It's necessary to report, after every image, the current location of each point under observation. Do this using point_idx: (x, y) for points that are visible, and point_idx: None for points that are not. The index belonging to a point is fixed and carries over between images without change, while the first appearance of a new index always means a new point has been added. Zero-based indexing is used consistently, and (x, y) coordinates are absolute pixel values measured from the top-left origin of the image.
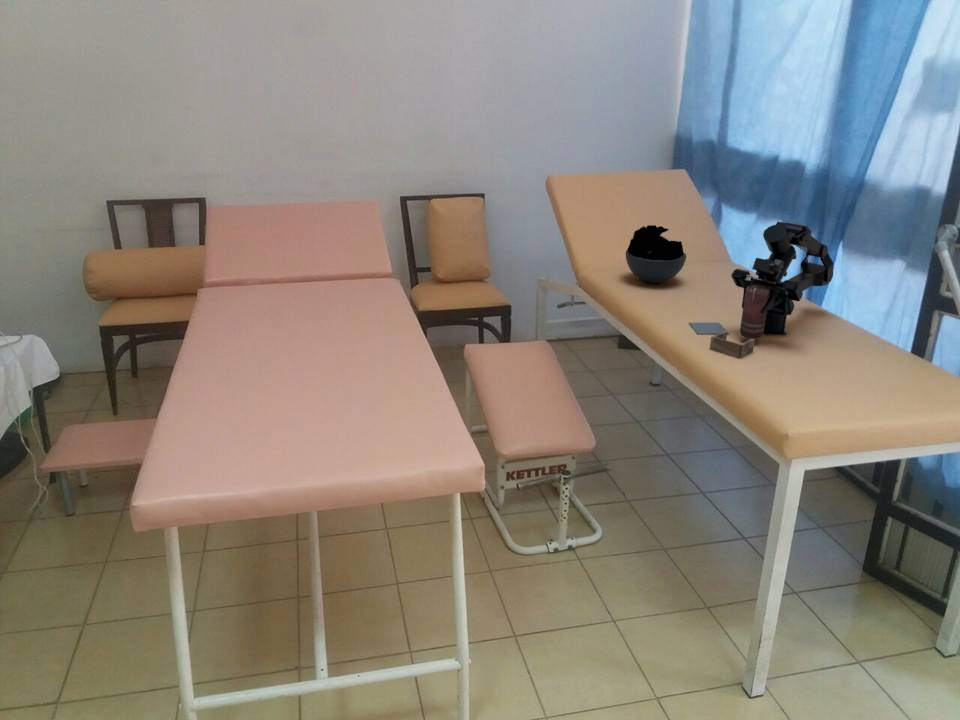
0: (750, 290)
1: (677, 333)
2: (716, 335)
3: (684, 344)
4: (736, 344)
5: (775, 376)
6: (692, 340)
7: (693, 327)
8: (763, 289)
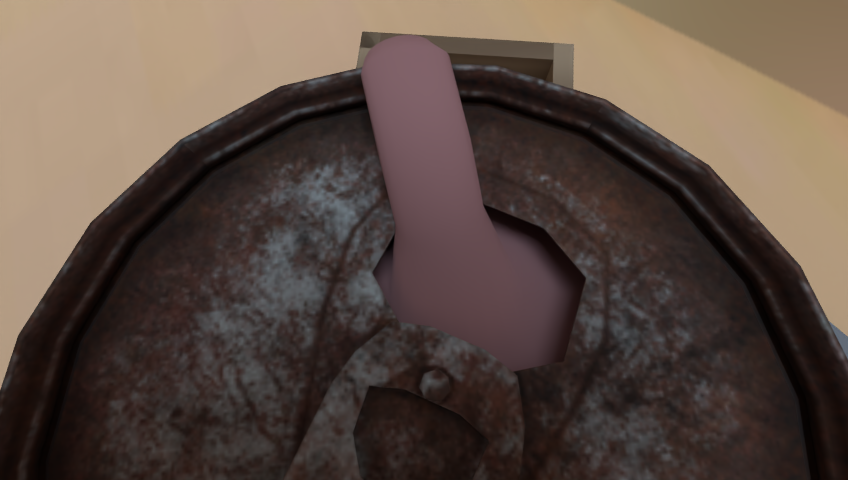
0: (533, 105)
1: (830, 186)
2: (562, 82)
3: (683, 66)
4: (395, 34)
5: (166, 6)
6: (693, 144)
7: (841, 338)
8: (201, 396)
